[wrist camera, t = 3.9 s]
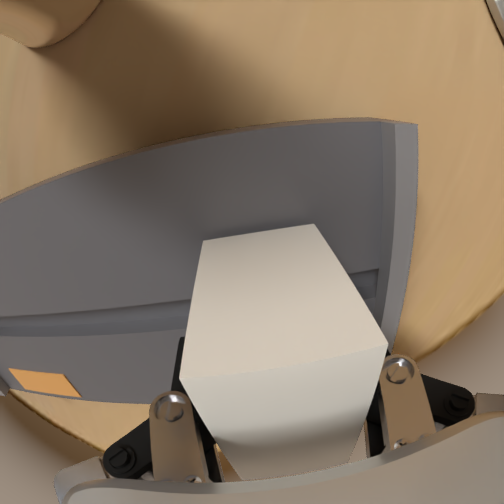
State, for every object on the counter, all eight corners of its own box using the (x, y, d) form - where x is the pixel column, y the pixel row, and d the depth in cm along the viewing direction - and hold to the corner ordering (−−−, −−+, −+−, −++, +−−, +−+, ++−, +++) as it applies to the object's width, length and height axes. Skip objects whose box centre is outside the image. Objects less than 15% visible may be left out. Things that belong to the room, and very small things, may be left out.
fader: (306, 212, 11) (388, 343, 5) (311, 339, 14) (347, 462, 8) (205, 227, 11) (179, 378, 5) (236, 351, 15) (242, 480, 8)
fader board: (369, 117, 12) (417, 124, 8) (361, 340, 18) (381, 384, 14) (-56, 231, 12) (-86, 254, 8) (16, 364, 18) (0, 394, 15)
